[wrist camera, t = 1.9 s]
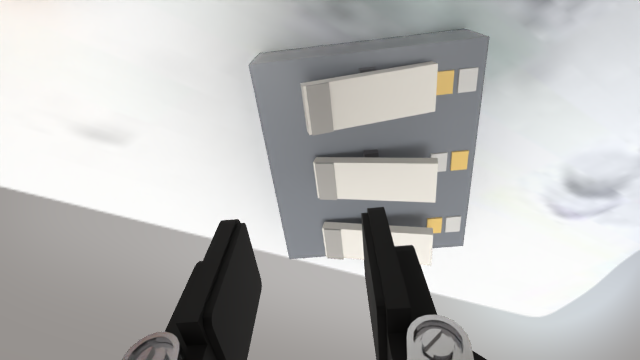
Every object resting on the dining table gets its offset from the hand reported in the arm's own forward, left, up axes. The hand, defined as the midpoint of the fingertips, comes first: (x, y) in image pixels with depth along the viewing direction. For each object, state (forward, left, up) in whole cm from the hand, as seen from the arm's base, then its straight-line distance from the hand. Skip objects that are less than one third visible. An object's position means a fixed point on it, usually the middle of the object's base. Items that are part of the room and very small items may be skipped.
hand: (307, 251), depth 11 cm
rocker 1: (-4, 0, -16) cm, 17 cm away
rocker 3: (-4, +14, -16) cm, 22 cm away
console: (-4, +7, -23) cm, 25 cm away
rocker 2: (-4, +7, -16) cm, 18 cm away
